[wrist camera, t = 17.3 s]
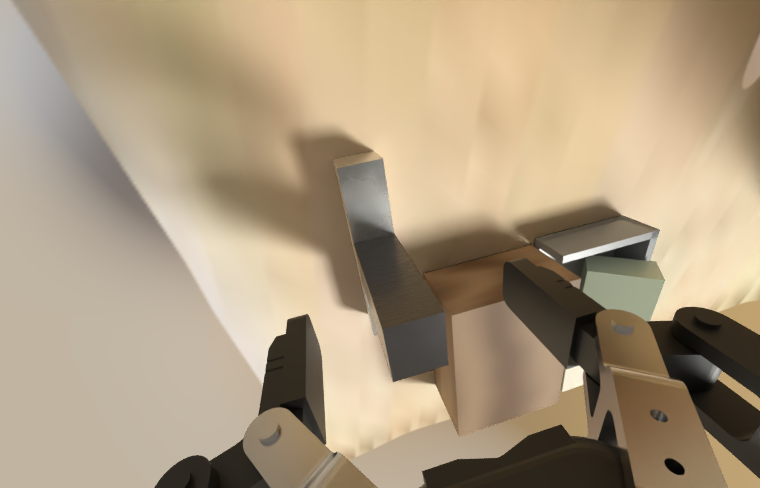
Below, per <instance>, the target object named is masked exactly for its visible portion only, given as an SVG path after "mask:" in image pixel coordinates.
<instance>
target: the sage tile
mask: <svg viewBox="0 0 760 488" xmlns="http://www.w3.org/2000/svg"><path fill="white" fill-rule="evenodd" d="M580 278H581V283H580V288H579V290H581V291H582V292H583V293H585V294H586V295H588V296H589V297H590V298H592V299H593V300H594V301H596V302H597V303H599V304H600V305H601V306H603V307H604V308H606V309H607V310H608V309H617V310H623V311H627V312H630V313H633V314H635V315H637V316H639V317H641V318H642V319H644V320H645V321H650V319H651V317H652V314H653V311H654V308H655V306H656V303H657V300H658V298H659V295H660V292H661V290H662V287H663V284H664V281H665V279H664V277H663V275H662V273H661V271H660V269H659V267H658V265H657V263H656V262H655V261H645V260H635V259H625V258H615V257H605V256H595V255H591V256H588V257H584V262H583V267H582V272H581V277H580Z"/></svg>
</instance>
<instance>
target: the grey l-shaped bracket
mask: <svg viewBox="0 0 760 488" xmlns="http://www.w3.org/2000/svg"><path fill="white" fill-rule="evenodd" d="M333 163H334V167H335V171H336V176H337V180H338V185H339V189H340V193H341V198H342V202H343V207H344V211H345V215H346V220H347V224H348V228H349V233H350V237H351V242H352V246H353V250H354V255H355V259H356V264H357V268H358V272H359V277H360V281H361V285H362V290H363V294H364V299H365V303H366V307H367V312H368V316H369V319H370V322H371V326H372V329H373V333H374V335H379V338H380V341H381V345H382V348H383V351H384V354H385V358H386V361H387V364H388V367H389V370H390V374H391V377H392V380H393V382H395V381H398V380H401V379H404V378H408V377H411V376H414V375H417V374H421V373H424V372H427V371H430V370H434V369H437V368H440V367H443V366H447V365H448V352H447V338H446V324H445V312H444V310H443V309H442V307H441V306H440V304H439V302H438V301H437V299H436V298H435V296H434V295H433V293H432V292H431V290H430V288H429V287H428V285H427V284H426V282H425V281H424V279H423V278H422V276H421V274H420V273H419V271H418V270H417V268H416V267H415V265H414V264H413V262H412V260H411V259H410V257H409V256H408V254H407V253H406V251H405V250H404V248H403V247H402V245H401V243H400V242H399V240H398V239H397V237H396V236H395V234H394V230H393V223H392V216H391V210H390V203H389V196H388V190H387V183H386V177H385V170H384V163H383V158H382V157H380V156H379V155H378V154H377V153H376V152H374V151H371V152H366V153H361V154H356V155H352V156H347V157H342V158H337V159H333Z"/></svg>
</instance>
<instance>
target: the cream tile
mask: <svg viewBox="0 0 760 488" xmlns="http://www.w3.org/2000/svg"><path fill="white" fill-rule="evenodd" d="M583 371H584V370H583V369H582V368H581V367H580V366H576V367H573V368H570V369H567V370H566V368H565V367H564V373H563V378H562V383H561V389H560V390H561V391H562V392H563V391H566V390H569V389H572V388H575V387H578V386H580V385H583Z"/></svg>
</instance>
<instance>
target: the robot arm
mask: <svg viewBox="0 0 760 488" xmlns="http://www.w3.org/2000/svg"><path fill="white" fill-rule="evenodd" d="M503 298H504V301H505V303H506V305H507V306H508V307H509V309H510V310H511V311H512V312H513V313H514V314H515V315H516V316H517V317H518V318H519V319H520V320H521V321H522V322H523V324H524V325H525V326H526V327H527V328H528V329H529V330H530V331H531V332H532V333H533V334H534V335H535V336H536V337H537V338H538V340H539V341H540V342H541V343H542V344H543V345H544V346H545V347H546V348H547V349H548V350H549V351H550V352H551V353H552V355H553V356H554V357H555V358H556V359H557V360H558V361H559V362H560V363H561V364H562V365H563V366H564V367H565V368H566V370H567V369H570V368H573V367H576V366H580V367H581V368H582V369H583V370H584V371H583V385H584V394H585V403H586V412H587V422H588V436H587V438H586V437H578V436H570V435H569V434H568V433H567V431H566V430H565V429H564V427H563V426H562V425H558V426H555V427H552V428H549V429H547V430H543V431H540V432H538V433H535V434H532V435H529V436H527V437H526V438H525V439H523V440H522V441H521V442H520V443H518V444H517V445H516V446H514V447H513V448H512V449H511V450H509V451H508V452H507V453H505V454H504V455H503V456H501V457H499V458H484V459H457V460H454V461H451V462H449V463H446V464H443V465H440V466H437V467H434V468H431V469H428V470H425V471H422V473H423V478H424V483H425V484H424V485H422V486H421V487H419V488H728V486H727V484H726V481H725V479H724V476H723V474H722V472H721V469H720V467H719V464H718V462H717V459H716V457H715V455H714V453H713V450H712V448H711V445H710V442H709V440H708V438H707V435H706V433H705V431H704V429H705V430H707V431H708V432H709V433H710V434H711V435H712V436H713V437H714V438H715V439H717V440H718V441H719V442H720V443H721V444H722V445H723V446H724V447H725V448H726V449H728V450H729V451H730V452H731V453H732V454H733V455H734V456H735V457H736V458H738V459H739V460H740V461H741V462H742V463H743V464H744V465H745V466H746V467H747V468H749V469H750V470H751V471H752V472H753V473H754V474H755V475H756V476H757V477H758V478H760V411H759V410H758V409H756V408H755V407H754V406H752V405H751V404H750V403H748V402H747V401H746V400H744V399H743V398H742V397H740V396H739V395H738V394H736V393H735V392H734V391H732V390H731V389H730V388H728V387H727V386H726V385H724V384H723V383H722V382H720V381H719V380H718V377H719V375H720V373H721V371H723V372H725V373H726V374H728V375H729V376H730V377H732V378H733V379H735V380H736V381H738V382H739V383H740V384H742V385H743V386H744V387H746V388H747V389H749V390H750V391H751V392H753V393H755V394H756V395H757V396H758V397H759V398H760V335H758V334H757V333H755V332H753V331H751V330H750V329H748V328H746V327H744V326H742V325H741V324H739V323H737V322H736V321H734V320H732V319H730V318H729V317H727V316H725V315H723V314H720V313H718V312H715V311H713V310H709V309H705V308H699V307H684V308H681V309H679V310H677V311H676V313H675V315H674V318H673V321H645V320H644V319H642V318H641V317H639V316H637V315H635V314H633V313H630V312H627V311H623V310H617V309H608V310H607V309H606V308H604V307H603V306H601V305H600V304H599V303H597V302H596V301H594V300H593V299H592V298H590V297H589V296H588V295H586V294H585V293H583V292H582V291H581V290H579V289H578V288H577V287H574V286H573V285H572V284H571V283H570V282H568V281H567V280H566V281H565V279H564V278H563V277H561V276H560V275H559V274H557V273H556V272H554V271H552V270H550V269H547V268H544V267H542V266H538V267H537V266H536V265H535V264H533V263H532V262H531V261H529V260H528V259H527V258H524V257H523V258H519V259H515V260H511V261H508V262H505V263H504V266H503ZM265 371H266V374H265V377H264V383H263V390H262V396H261V403H260V409H259V415H258V417H257V418H256V419H255V420H254V421H253V422H252V423H251V424H250V426H249V427H248V429H247V431H246V433H245V436H244V438H243V439H242V440H241V441H240V442H239V443H237V444H236V445H235V446H233V447H231V448H230V449H228V450H227V451H225V452H223V453H222V454H220V455H219V456H217V457H215V458H214V459H212V460H211V461H208V459H207V458H205V457H203V456H199V455H196V456H191V457H188V458H185V459H183V460H181V461H180V462H178V463H177V464H176V465H174V466H173V467H171V468H170V469H169V470H168V471H167V472H166V473H165V474H164V475H163V477H162V478H161V479H160V480H159V482H158V483H157V485H156V486H155V488H377V487H376V486H375V485H374V484H373V483H372V482H371V481H370V480H369V479H368V478H367V477H366V476H365V475H364V474H363V473H362V472H361V471H359V470H358V469H357V468H356V467H355V466H354V465H353V464H352V463H351V462H350V461H349V460H348V459H347V458H346V457H345V456H343V455H342V454H341V453H339V452H336V453H333V452H332V451H330V450H329V449H328V448H327V447H326V446H325V444H326V430H325V410H324V391H323V371H322V356H321V350H320V346H319V343H318V340H317V337H316V334H315V331H314V329H313V326H312V323H311V320H310V317H309V315H308V314H306V315H302V316H298V317H295V318H291V319H288V320H287V329H286V334H284V335H281V336H277V337H276V338H275V339H274V341H273V343H272V344H271V346H270V348H269V351H268V357H267V364H266V370H265Z"/></svg>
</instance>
